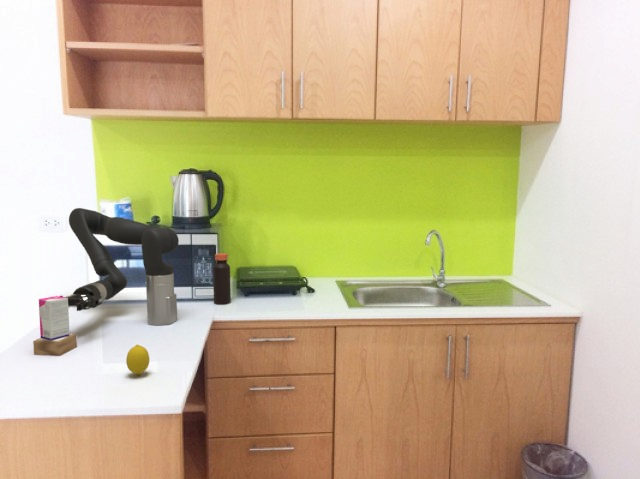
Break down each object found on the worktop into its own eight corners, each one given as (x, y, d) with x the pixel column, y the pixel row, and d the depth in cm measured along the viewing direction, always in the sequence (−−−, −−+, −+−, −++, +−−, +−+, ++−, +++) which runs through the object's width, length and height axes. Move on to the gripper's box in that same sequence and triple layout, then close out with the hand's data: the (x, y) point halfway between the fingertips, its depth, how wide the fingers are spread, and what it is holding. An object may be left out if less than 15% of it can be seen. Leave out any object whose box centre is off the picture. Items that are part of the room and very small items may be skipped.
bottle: (224, 300, 211) (223, 252, 208) (234, 302, 206) (233, 254, 204) (210, 302, 206) (209, 254, 204) (219, 305, 201) (218, 256, 199)
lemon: (130, 371, 132) (129, 341, 131) (152, 370, 133) (151, 341, 132) (124, 379, 127) (122, 348, 126) (146, 378, 127) (145, 348, 126)
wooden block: (77, 346, 151) (76, 333, 151) (59, 356, 143) (58, 341, 143) (52, 345, 152) (51, 332, 152) (34, 354, 145) (33, 340, 144)
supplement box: (70, 335, 149) (68, 297, 147) (51, 341, 144) (48, 301, 142) (59, 332, 152) (57, 295, 150) (39, 337, 147) (37, 298, 145)
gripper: (68, 284, 167) (39, 295, 150) (110, 284, 166) (86, 295, 150) (69, 306, 167) (41, 319, 151) (112, 306, 167) (88, 319, 151)
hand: (63, 307), depth 151 cm, fingers open, 8 cm apart
